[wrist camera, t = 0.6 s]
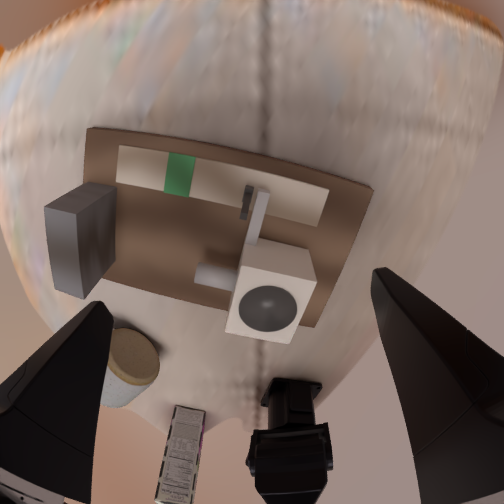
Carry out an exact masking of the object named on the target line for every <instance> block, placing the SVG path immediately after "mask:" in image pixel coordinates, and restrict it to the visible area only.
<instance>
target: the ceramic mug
mask: <svg viewBox="0 0 504 504" xmlns="http://www.w3.org/2000/svg"><path fill="white" fill-rule="evenodd" d="M159 369H160V362H159V357H158V354H157V352H156V350H155V348H154V346H153V345H152V343H151V342H150V341H149V340H148V339H147V338H146V337H145V336H143V335H142V334H140V333H139V332H136V331H134V330H132V329H128V328H119V329H114V327H113V331H112V338H111V345H110V353H109V360H108V365H107V370H106V375H105V380H104V385H103V391H102V396H101V402H100V404H102V405H104V406H107V407H111V408H120V407H123V406H125V405H127V404H128V403H130V402H131V401H132V400H133V399H134V398H136V397H137V396H138V395H139V394H141V393H142V392H143V391H144V390H146V389H147V388H148V387H149V386H150V385H151V384H152V383H153V382H154V380H155V379H156V377H157V376H158V373H159Z"/></svg>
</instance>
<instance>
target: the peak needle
mask: <svg viewBox="0 0 504 504" xmlns="http://www.w3.org/2000/svg"><path fill="white" fill-rule="evenodd" d="M253 191H254V187H253V186H249V185H246V186H245V190H244V194H243V198H242V202H243V205H242V209H241V213H240V217H239V219H242V220H247V216H248V211H249V205H250V203H251V199H252V195H253Z"/></svg>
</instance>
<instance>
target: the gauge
mask: <svg viewBox="0 0 504 504" xmlns="http://www.w3.org/2000/svg"><path fill="white" fill-rule="evenodd" d="M269 196H270V191H269V190H265V189H261V188H258V192H257V196H256V200H255V204H254V208H253V212H252V215H251V219H250V223H249V227H248V231H247V235H246V238H245V241H244V245H243V249H242V253H241V257H240V261H239V265H238V269H237V271H236V270H232V269H227V268H223V267H219V266H214V265H210V264H206V263H201V262H199V263H198V265H197V269H196V273H195V278H194V283H198V284H202V285H206V286H211V287H215V288H219V289H224V290H228V291H232V294H231V298H230V304H229V310H228V315H227V321H226V327H225V332H227V333H232V334H236V335H241V336H246V337H251V338H257V339H262V340H267V341H273V342H278V343H284V344H289V343H290V341H291V339H292V337H293V335H294V333H295V331H296V328H297V326H298V324H299V322H300V320H301V318H302V315H303V313H304V311H305V309H306V306H307V304H308V302H309V300H310V297H311V295H312V293H313V290H314V288H315V286H316V283H317V280H316V276H315V272H314V268H313V264H312V261H311V257H310V253H309V250H308V249H304V248H300V247H295V246H291V245H287V244H283V243H279V242H275V241H270V240H266V239H262V238H258V236H259V233H260V229H261V225H262V222H263V218H264V214H265V211H266V207H267V203H268V200H269Z"/></svg>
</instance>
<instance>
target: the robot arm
mask: <svg viewBox="0 0 504 504" xmlns="http://www.w3.org/2000/svg"><path fill="white" fill-rule="evenodd" d="M371 298H372V302H373V306H374V310H375V315H376V319H377V323H378V328H379V332H380V337H381V340H382V344H383V347H384V350H385V353H386V356H387V359H388V362H389V366H390V369H391V372H392V375H393V379H394V382H395V385H396V389H397V392H398V396H399V400H400V403H401V407H402V411H403V414H404V418H405V422H406V426H407V431H408V435H409V439H410V444H411V448H412V453H413V456H414V457H413V458H414V463H415V469H416V474H417V480H418V486H419V492H420V498H421V504H504V357H503V356H501V355H500V354H499V353H497V352H496V351H495V350H493V349H492V348H490V347H489V346H488V345H487V344H486V343H484V342H483V341H482V340H481V339H479V338H478V337H477V336H476V335H475V334H473V333H472V332H471V331H470V330H467V328H466V327H465V326H463V325H462V324H461V323H460V322H459V321H457V320H456V319H455V318H453V317H452V316H451V315H450V314H449V313H447V312H446V311H445V310H443V309H442V308H441V307H440V306H438V305H437V304H436V303H434V302H433V301H431V300H430V299H429V298H428V297H426V296H425V295H424V294H423V293H421V292H420V291H418V290H417V289H416V288H415V287H413V286H412V285H411V284H409V283H408V282H406V281H405V280H404V279H402V278H401V277H400V276H398V275H397V274H395V273H394V272H393V271H391V270H390V269H388V268H387V267H382V268H376V269H374V270H373V273H372V281H371ZM113 324H114V320H113V316H112V315H111V313H110V312H109V310H108V309H107V307H106V306H105V304H104V303H103V302H102V301H93V302H91V303H89V304H88V305H87V306H86V307H85V308H84V309H82V310H81V311H80V312H79V313H78V314H77V315H76V316H74V317H73V318H72V319H71V320H70V321H69V322H68V323H66V324H65V325H64V326H63V327H62V328H61V329H60V330H59V331H57V332H56V333H55V334H54V335H53V336H52V337H51V338H50V339H49V340H48V341H46V342H45V343H44V344H43V345H42V346H41V347H40V348H39V349H38V350H37V351H36V352H35V353H34V354H33V355H31V356H30V357H29V358H28V360H26V361H25V362H24V363H23V364H22V365H21V366H20V367H19V368H18V369H17V370H16V371H15V372H14V373H13V374H11V375H10V376H9V377H8V378H7V379H6V380H5V381H4V382H3V383H1V384H0V504H67V503H66V502H64V498H65V497H67V498H70V499H73V500H76V501H79V502H82V503H85V504H91V486H92V469H93V456H94V446H95V436H96V429H97V421H98V414H99V408H100V402H101V396H102V391H103V385H104V380H105V375H106V370H107V365H108V360H109V353H110V345H111V338H112V331H113ZM321 389H322V384H320V383H311V382H302V381H294V380H286V379H279V378H275V379H273V380H272V382H271V384H270V385H269V387H268V389H267V391H266V393H265V395H264V397H263V399H262V401H261V406H263V407H268V430H259V429H255V430H254V432H253V435H252V436H251V443H250V449H249V453H248V456H247V458H246V465H247V466H248V467H249V469H250V473H251V475H252V477H255V487H256V490H257V491H258V493H259V494H260V495H261V496H262V498H263V499H264V500H265V502H266V503H267V504H316V502H317V500H318V499H319V497H320V495H321V494H322V492H323V490H324V489H325V487H326V484H327V471H329V470H333V457H332V456H333V455H332V446H331V440H330V434H329V428H328V422H327V423H323V424H318V425H316V423H315V413H314V404H313V400H314V398H315V397H316V396H317V394H318V393H319V392H320V390H321Z"/></svg>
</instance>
